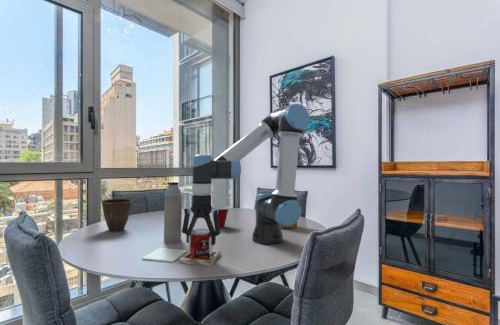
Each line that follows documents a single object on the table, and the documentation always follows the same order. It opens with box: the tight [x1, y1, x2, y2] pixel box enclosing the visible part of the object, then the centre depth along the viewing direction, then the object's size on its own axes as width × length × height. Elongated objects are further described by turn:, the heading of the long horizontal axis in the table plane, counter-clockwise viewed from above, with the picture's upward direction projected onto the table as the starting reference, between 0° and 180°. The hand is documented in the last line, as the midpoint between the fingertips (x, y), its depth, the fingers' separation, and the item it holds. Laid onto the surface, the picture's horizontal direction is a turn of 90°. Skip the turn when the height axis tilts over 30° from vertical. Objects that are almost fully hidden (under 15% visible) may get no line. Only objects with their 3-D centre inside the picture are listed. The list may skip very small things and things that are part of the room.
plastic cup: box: [211, 205, 230, 229], centre depth 165 cm, size 11×11×12 cm
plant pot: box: [101, 198, 133, 232], centre depth 154 cm, size 15×15×16 cm
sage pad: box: [141, 247, 188, 263], centre depth 114 cm, size 13×13×1 cm
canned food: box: [190, 228, 211, 260], centre depth 111 cm, size 8×8×11 cm
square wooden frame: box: [178, 250, 222, 267], centre depth 111 cm, size 12×12×2 cm
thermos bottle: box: [163, 181, 183, 244], centre depth 135 cm, size 8×8×28 cm
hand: (200, 252), depth 111 cm, fingers closed on canned food, 8 cm apart
